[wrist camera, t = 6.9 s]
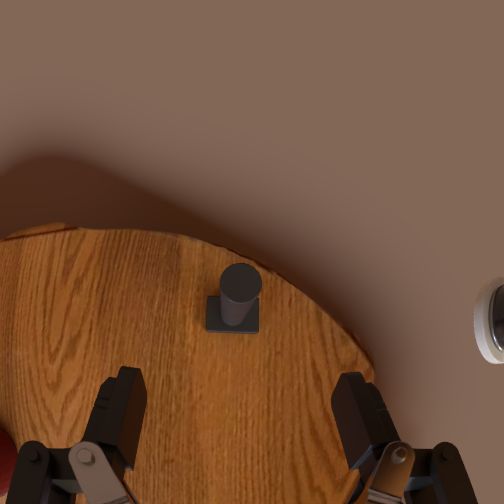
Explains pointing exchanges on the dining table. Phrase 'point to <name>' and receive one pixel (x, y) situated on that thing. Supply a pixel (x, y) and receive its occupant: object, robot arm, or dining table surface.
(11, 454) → the apple
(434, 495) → the robot arm
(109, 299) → the dining table surface
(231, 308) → the t-shaped mushroom stamp
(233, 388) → the dining table surface
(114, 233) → the dining table surface
